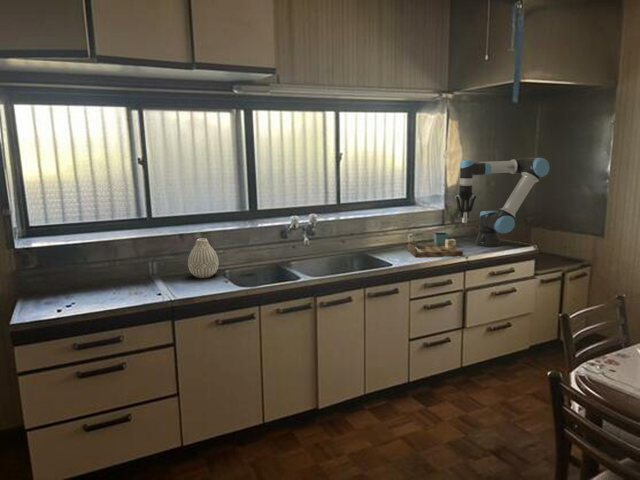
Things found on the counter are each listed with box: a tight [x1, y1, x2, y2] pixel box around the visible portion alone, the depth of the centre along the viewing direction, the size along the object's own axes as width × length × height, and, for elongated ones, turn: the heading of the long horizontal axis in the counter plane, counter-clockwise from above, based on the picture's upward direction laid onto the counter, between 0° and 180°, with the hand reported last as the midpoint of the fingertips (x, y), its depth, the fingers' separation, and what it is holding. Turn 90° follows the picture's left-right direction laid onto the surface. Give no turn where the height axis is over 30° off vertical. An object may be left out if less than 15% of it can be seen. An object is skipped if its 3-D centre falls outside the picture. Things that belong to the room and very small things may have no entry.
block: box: [445, 238, 457, 248], centre depth 309 cm, size 5×5×5 cm
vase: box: [187, 237, 220, 279], centre depth 258 cm, size 16×16×20 cm
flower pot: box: [433, 232, 450, 245], centre depth 324 cm, size 9×9×9 cm
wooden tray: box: [407, 243, 463, 258], centre depth 305 cm, size 29×20×5 cm
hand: (464, 222), depth 307 cm, fingers closed
